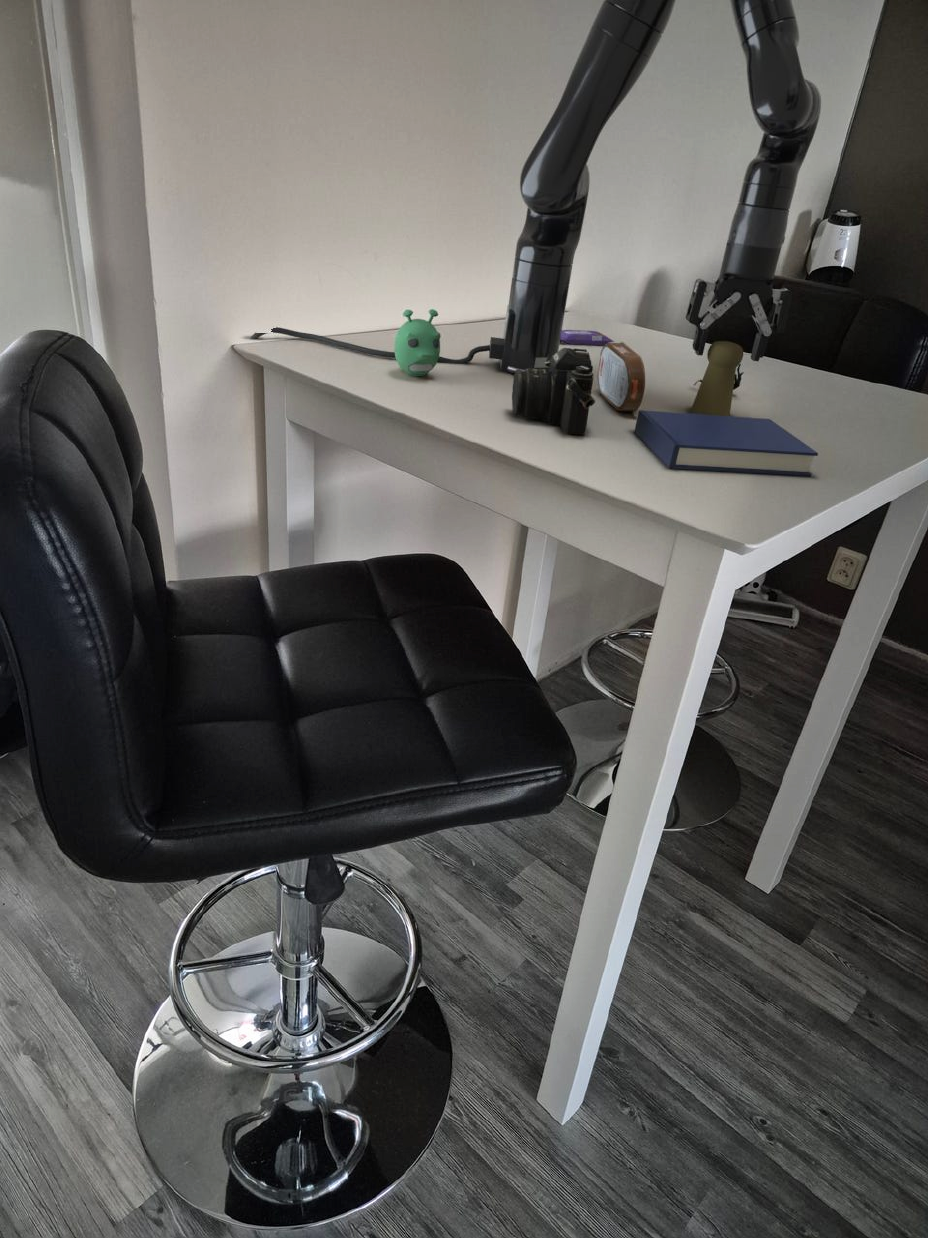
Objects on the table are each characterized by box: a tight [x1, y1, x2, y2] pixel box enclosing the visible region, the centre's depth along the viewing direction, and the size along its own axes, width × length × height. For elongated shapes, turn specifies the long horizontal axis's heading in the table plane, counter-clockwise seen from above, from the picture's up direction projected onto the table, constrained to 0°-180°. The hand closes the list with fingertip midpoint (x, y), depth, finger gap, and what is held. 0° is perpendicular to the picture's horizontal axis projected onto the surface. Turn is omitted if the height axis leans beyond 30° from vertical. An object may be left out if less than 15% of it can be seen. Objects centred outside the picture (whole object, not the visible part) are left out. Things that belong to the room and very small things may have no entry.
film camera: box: [511, 347, 596, 436], centre depth 123 cm, size 18×12×10 cm
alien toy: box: [394, 308, 442, 377], centre depth 134 cm, size 7×8×10 cm
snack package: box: [560, 329, 616, 346], centre depth 171 cm, size 12×2×5 cm
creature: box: [693, 363, 745, 391], centre depth 148 cm, size 8×5×8 cm
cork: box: [690, 340, 744, 416], centre depth 134 cm, size 6×6×11 cm
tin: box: [597, 341, 646, 413], centre depth 134 cm, size 15×3×8 cm, turn 9°
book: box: [633, 409, 819, 477], centre depth 119 cm, size 20×14×3 cm
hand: (726, 357), depth 132 cm, fingers open, 8 cm apart
